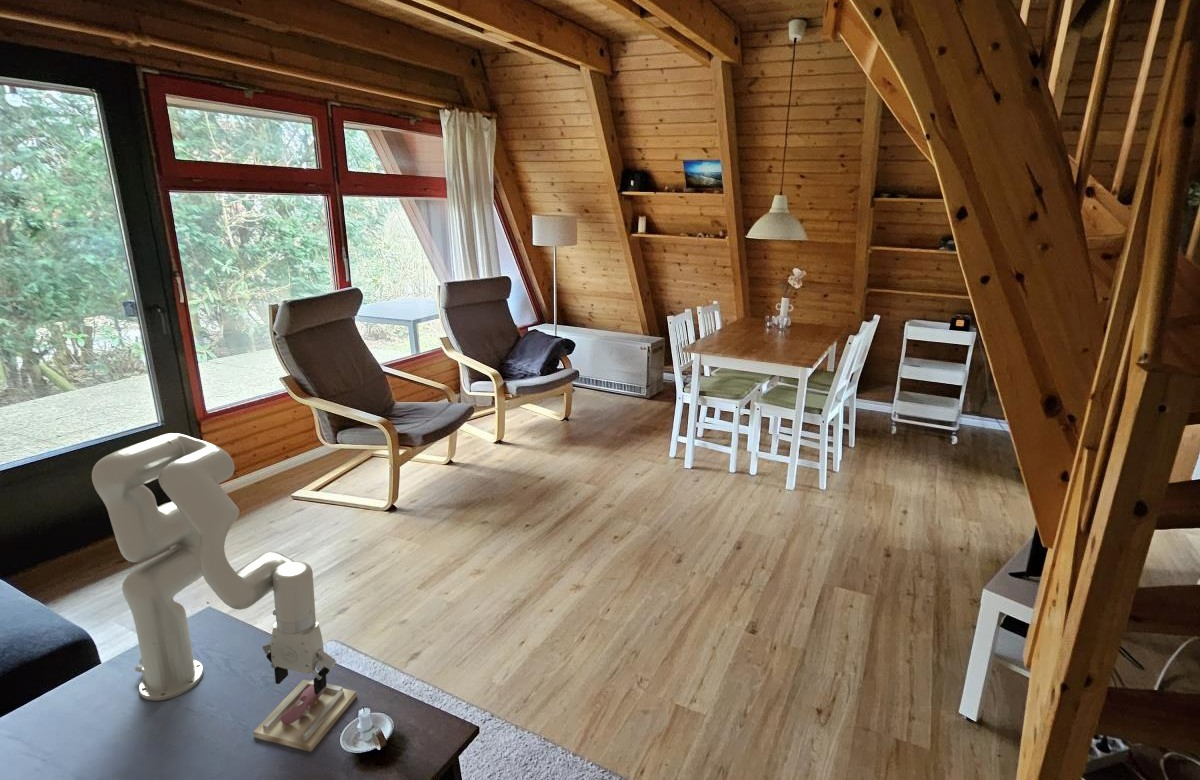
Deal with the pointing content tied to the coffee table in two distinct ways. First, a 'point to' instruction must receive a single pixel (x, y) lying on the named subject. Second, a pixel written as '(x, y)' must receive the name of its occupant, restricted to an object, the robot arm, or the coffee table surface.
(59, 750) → the coffee table surface
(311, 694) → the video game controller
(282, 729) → the dock
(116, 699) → the coffee table surface
